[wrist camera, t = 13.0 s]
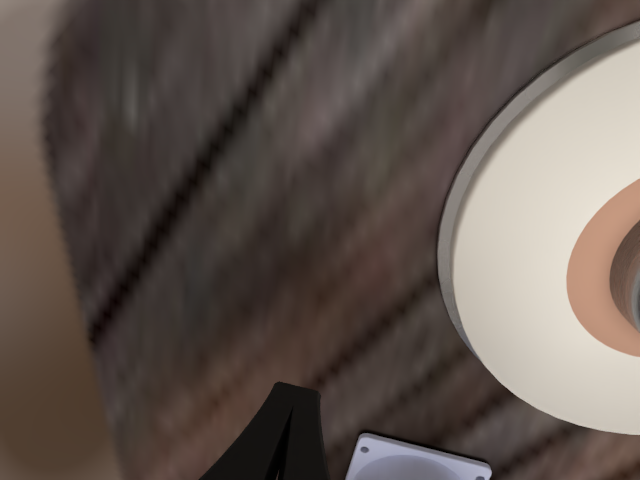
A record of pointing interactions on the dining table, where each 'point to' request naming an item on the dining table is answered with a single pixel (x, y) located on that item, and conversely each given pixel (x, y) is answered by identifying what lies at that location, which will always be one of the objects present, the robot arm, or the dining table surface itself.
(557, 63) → the turntable base
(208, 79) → the dining table surface
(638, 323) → the cover
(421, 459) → the robot arm
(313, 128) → the dining table surface
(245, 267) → the dining table surface
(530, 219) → the disc
